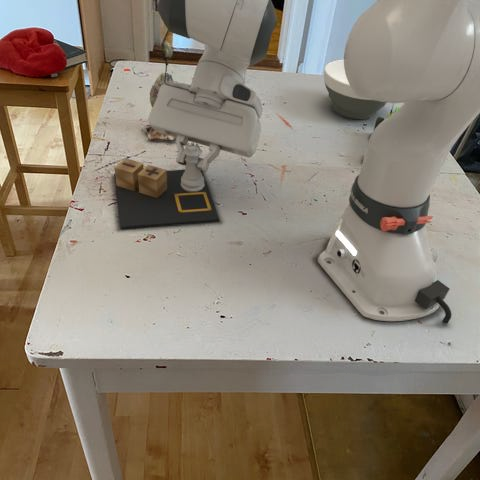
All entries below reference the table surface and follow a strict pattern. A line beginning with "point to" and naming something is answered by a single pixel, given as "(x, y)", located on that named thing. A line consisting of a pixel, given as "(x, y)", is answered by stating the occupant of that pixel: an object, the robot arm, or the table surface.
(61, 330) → the table surface
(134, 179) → the plus minus wooden blocks
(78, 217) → the table surface
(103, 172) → the table surface
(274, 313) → the table surface
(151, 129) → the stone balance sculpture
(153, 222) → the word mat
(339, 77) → the bowl
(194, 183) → the rook chess piece
